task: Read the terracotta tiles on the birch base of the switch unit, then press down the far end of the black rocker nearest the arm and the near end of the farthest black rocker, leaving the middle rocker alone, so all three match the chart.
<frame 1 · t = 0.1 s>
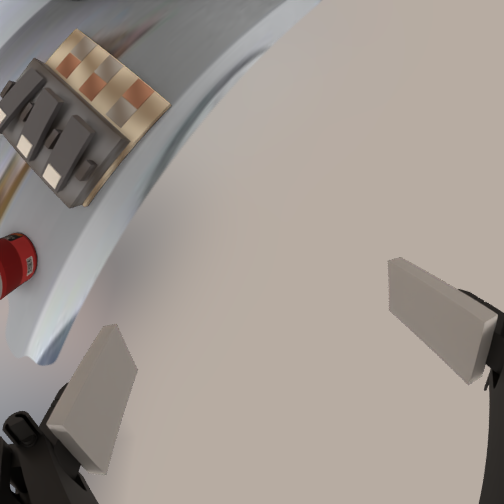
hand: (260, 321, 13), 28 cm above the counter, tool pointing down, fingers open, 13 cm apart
rocker middle: (37, 125, 26), point 7 cm above the counter, hinge at 14.0°
switch unit: (77, 110, 33), on the counter
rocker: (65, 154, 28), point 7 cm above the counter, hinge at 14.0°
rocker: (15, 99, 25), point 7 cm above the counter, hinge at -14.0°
canned food: (22, 255, 37), on the counter
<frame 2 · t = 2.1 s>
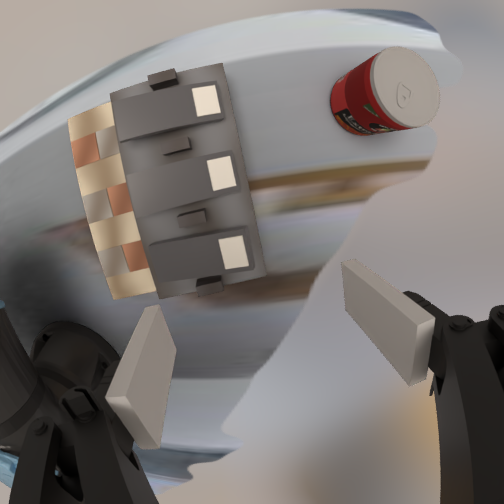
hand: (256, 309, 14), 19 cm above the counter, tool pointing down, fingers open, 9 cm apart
rocker middle: (183, 182, 24), point 7 cm above the counter, hinge at 14.0°
switch unit: (160, 187, 31), on the counter
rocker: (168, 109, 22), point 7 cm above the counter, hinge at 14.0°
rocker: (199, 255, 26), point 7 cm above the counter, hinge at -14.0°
canned food: (357, 105, 30), on the counter
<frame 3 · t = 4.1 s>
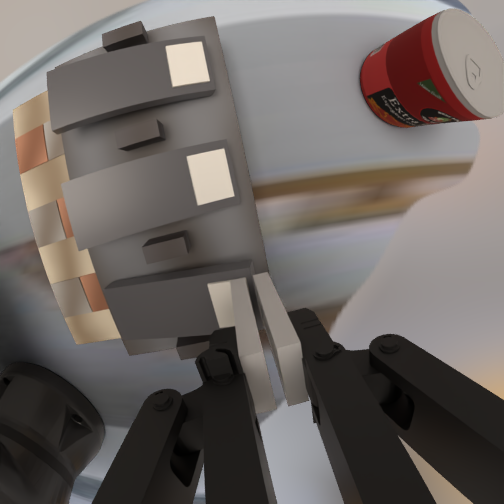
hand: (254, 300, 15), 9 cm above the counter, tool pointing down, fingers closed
rocker middle: (150, 192, 15), point 7 cm above the counter, hinge at 14.0°
switch unit: (127, 197, 21), on the counter
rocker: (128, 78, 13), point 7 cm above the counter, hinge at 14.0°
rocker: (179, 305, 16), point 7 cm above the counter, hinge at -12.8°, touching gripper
canned food: (392, 88, 22), on the counter
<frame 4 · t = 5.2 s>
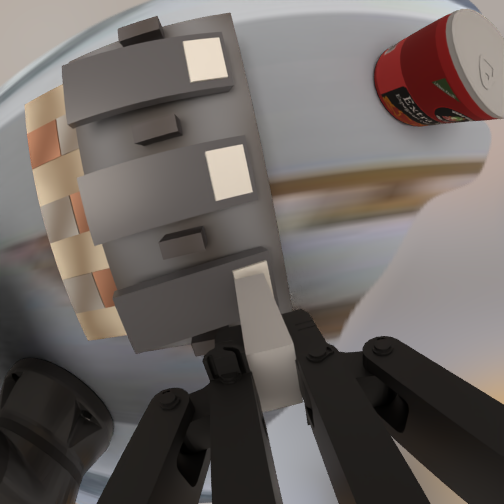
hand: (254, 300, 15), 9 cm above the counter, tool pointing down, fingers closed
rocker middle: (167, 186, 15), point 7 cm above the counter, hinge at 14.0°
switch unit: (141, 193, 21), on the counter
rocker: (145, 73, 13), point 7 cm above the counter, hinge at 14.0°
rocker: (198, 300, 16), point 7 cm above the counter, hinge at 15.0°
canned food: (405, 86, 21), on the counter
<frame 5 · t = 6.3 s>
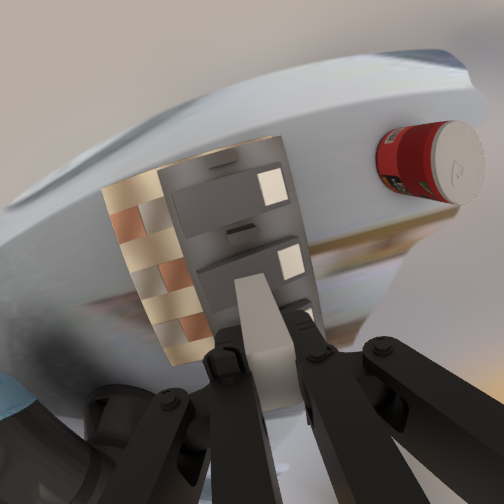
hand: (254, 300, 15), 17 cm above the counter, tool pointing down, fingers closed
rocker middle: (254, 273, 25), point 7 cm above the counter, hinge at 14.0°
switch unit: (213, 260, 32), on the counter
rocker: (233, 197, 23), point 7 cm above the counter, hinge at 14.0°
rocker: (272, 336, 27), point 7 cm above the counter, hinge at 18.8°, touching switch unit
canned food: (399, 160, 31), on the counter
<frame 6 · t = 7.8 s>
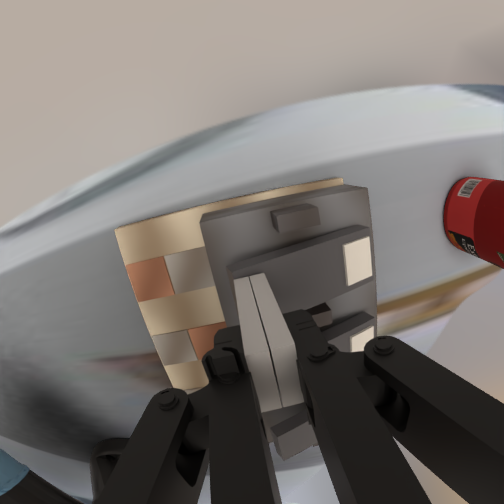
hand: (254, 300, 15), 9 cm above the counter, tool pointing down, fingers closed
rocker middle: (320, 361, 19), point 7 cm above the counter, hinge at 14.0°
switch unit: (255, 323, 26), on the counter
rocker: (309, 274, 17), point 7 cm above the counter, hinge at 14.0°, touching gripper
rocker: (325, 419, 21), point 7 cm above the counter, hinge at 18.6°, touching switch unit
canned food: (463, 212, 26), on the counter
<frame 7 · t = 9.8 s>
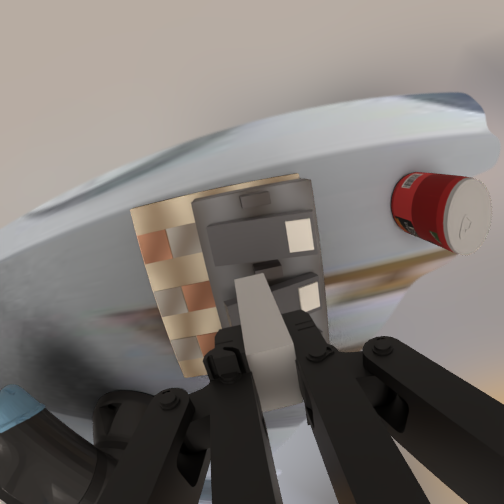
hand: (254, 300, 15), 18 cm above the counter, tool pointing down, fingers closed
rocker middle: (276, 306, 27), point 7 cm above the counter, hinge at 14.0°
switch unit: (233, 285, 34), on the counter
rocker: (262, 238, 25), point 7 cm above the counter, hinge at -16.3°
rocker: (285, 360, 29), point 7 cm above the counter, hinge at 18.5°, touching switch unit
canned food: (412, 202, 34), on the counter
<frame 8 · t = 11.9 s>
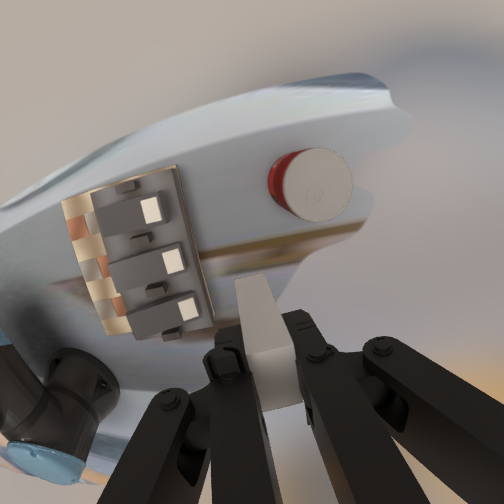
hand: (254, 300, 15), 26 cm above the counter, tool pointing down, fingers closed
rocker middle: (147, 267, 34), point 7 cm above the counter, hinge at 14.0°
switch unit: (135, 256, 40), on the counter
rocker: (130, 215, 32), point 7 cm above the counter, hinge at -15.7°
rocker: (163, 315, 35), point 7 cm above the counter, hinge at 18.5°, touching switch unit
canned food: (293, 181, 40), on the counter
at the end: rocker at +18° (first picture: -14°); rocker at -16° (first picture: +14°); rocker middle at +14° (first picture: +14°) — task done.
